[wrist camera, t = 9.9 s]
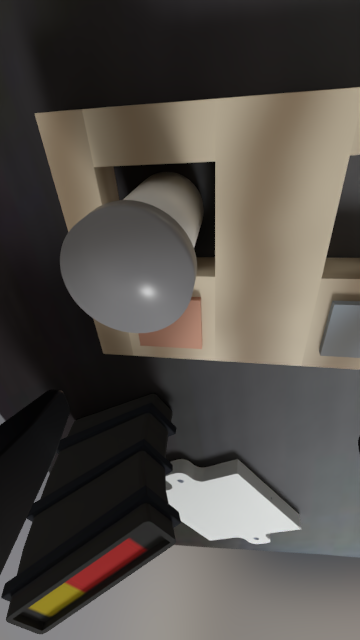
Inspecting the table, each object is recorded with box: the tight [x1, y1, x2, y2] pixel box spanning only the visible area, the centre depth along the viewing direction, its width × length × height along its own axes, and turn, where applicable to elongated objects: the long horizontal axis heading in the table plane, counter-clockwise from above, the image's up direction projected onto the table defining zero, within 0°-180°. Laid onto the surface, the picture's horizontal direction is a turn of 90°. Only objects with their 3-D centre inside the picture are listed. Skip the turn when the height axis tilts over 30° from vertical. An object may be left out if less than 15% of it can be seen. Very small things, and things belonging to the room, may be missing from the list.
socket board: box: [35, 87, 360, 370], centre depth 16 cm, size 21×14×3 cm, turn 94°
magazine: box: [2, 394, 181, 634], centre depth 25 cm, size 4×13×15 cm, turn 124°
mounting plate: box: [166, 459, 301, 544], centre depth 36 cm, size 18×13×2 cm
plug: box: [60, 172, 204, 333], centre depth 14 cm, size 5×5×8 cm
